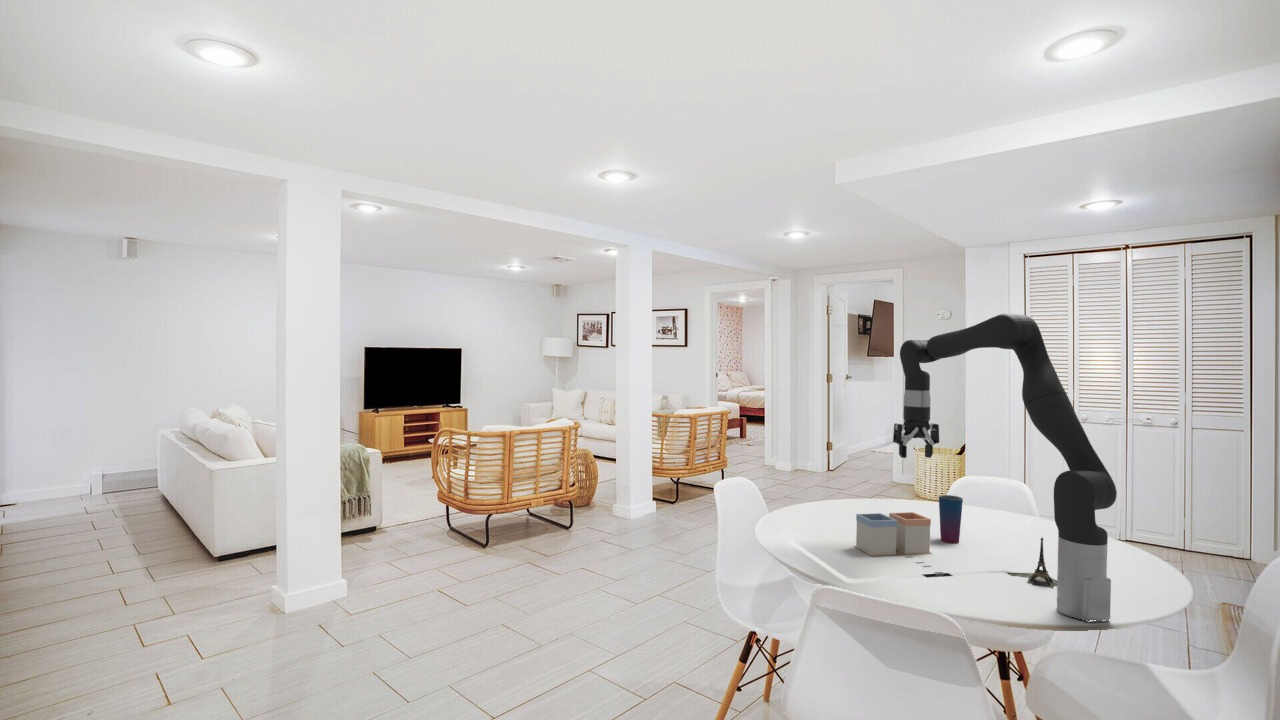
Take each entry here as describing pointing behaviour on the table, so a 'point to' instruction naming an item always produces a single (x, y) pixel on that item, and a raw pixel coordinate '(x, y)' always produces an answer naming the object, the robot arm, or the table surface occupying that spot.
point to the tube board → (893, 555)
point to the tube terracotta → (912, 533)
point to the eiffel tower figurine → (1039, 574)
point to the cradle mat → (934, 572)
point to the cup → (950, 518)
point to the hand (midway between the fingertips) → (915, 457)
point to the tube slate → (876, 534)
